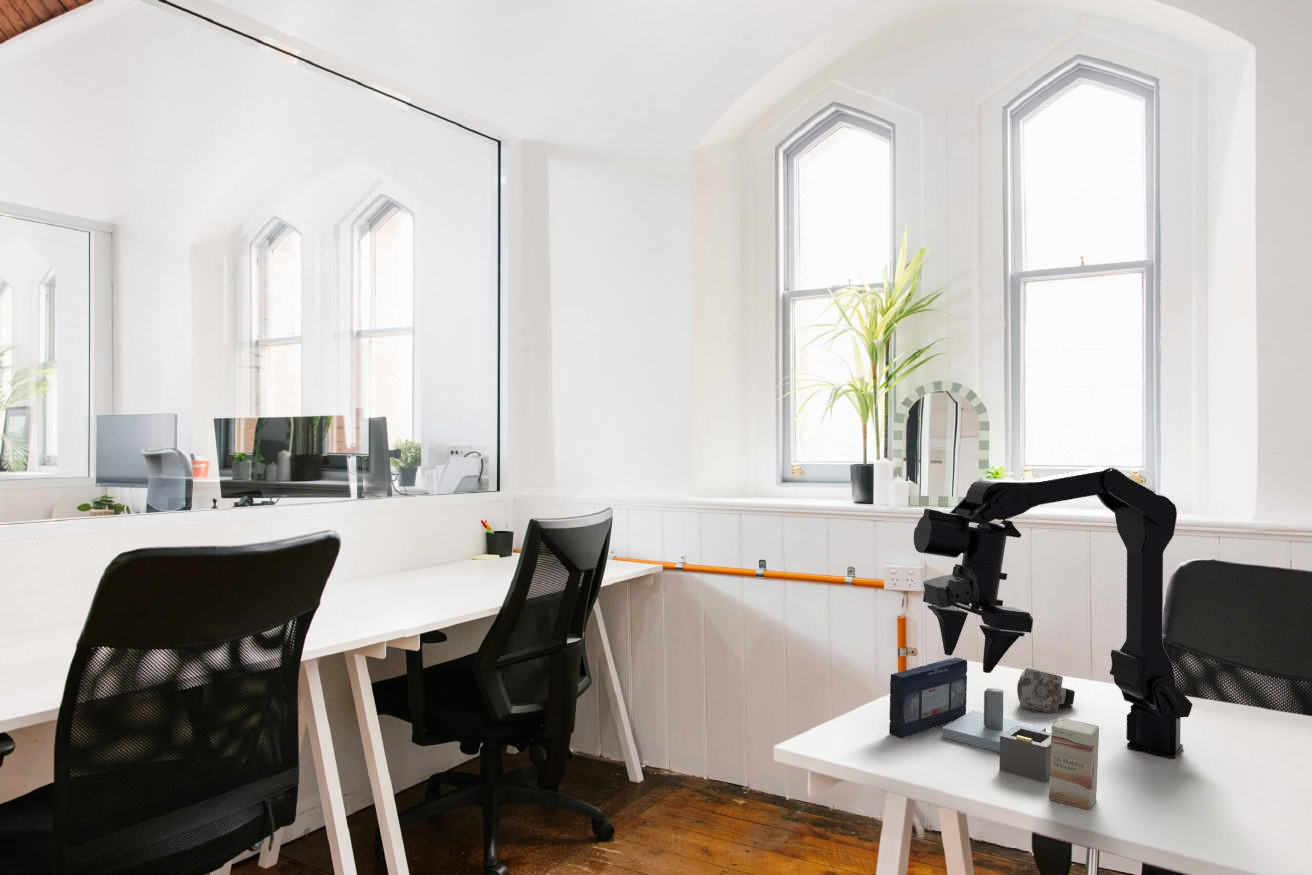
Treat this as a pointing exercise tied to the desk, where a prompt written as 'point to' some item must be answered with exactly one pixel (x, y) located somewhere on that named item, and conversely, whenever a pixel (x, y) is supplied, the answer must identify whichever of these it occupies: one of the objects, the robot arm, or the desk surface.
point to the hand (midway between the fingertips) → (966, 663)
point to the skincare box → (1074, 763)
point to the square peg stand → (984, 723)
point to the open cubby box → (1026, 753)
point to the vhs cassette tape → (927, 697)
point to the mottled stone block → (1043, 691)
